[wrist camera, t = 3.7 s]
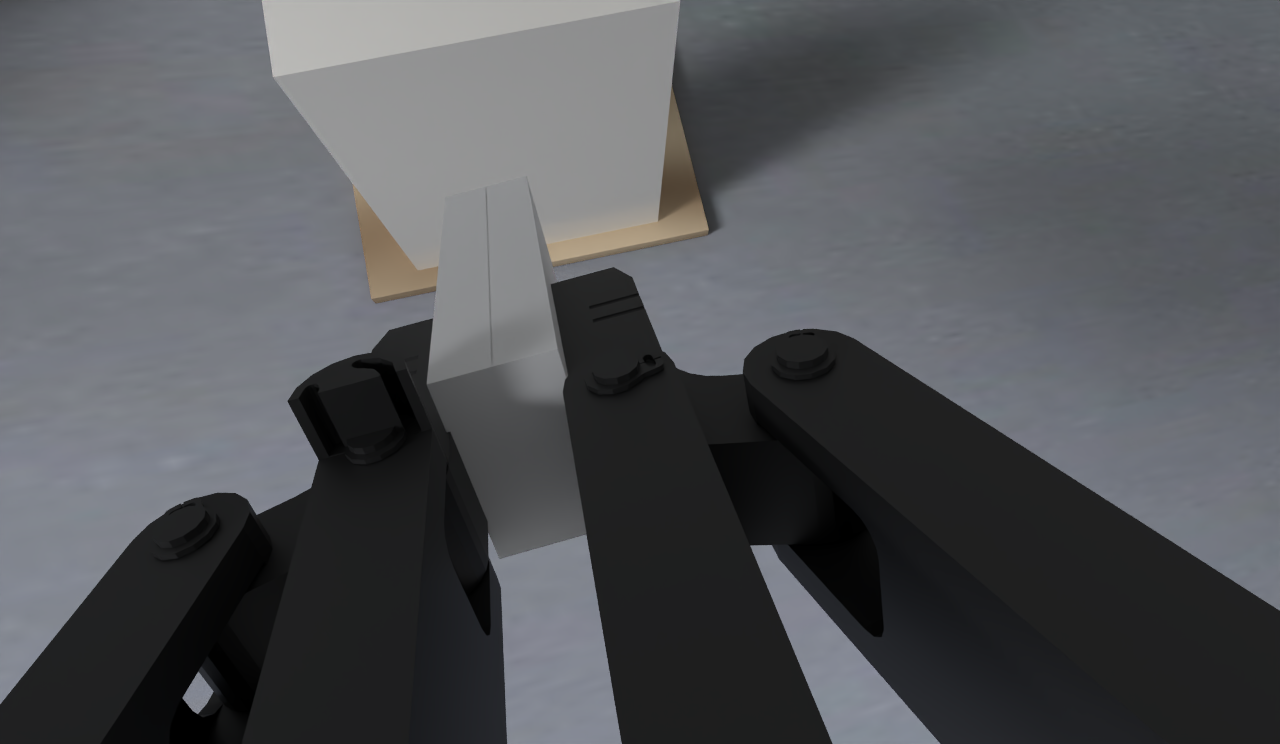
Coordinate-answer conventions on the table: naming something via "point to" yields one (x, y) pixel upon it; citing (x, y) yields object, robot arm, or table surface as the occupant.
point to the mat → (675, 223)
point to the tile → (485, 104)
